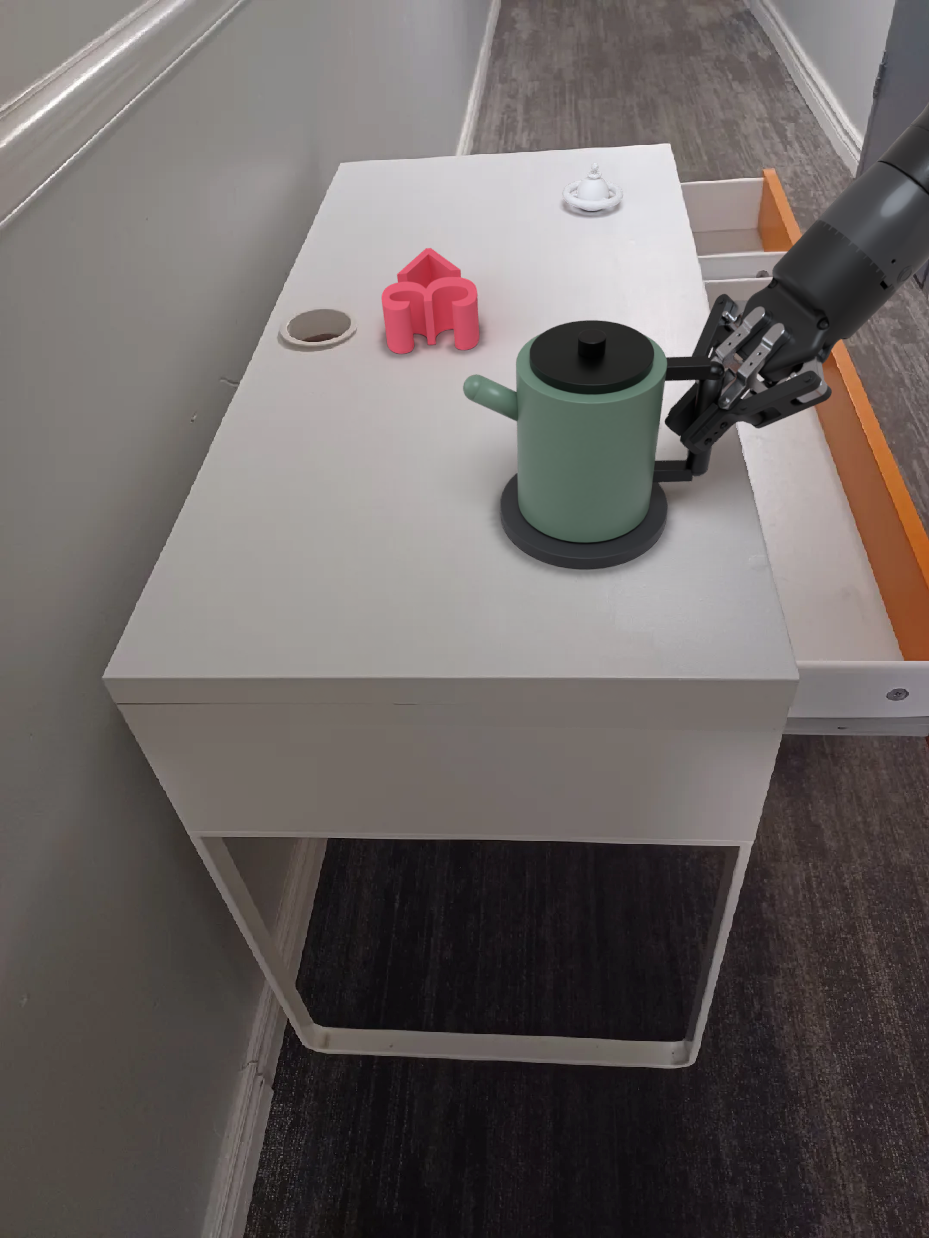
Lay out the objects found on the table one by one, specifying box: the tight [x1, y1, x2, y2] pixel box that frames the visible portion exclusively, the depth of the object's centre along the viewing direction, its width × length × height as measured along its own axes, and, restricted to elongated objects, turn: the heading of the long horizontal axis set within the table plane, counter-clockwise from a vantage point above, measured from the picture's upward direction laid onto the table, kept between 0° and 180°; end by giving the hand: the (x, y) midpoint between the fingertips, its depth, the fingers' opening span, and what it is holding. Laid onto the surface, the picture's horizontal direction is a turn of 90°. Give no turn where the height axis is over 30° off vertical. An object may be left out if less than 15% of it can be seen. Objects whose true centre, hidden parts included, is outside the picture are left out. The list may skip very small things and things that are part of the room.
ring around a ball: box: [561, 162, 624, 212], centre depth 115 cm, size 8×6×8 cm
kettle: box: [462, 319, 726, 543], centre depth 68 cm, size 19×11×15 cm, turn 88°
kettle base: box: [499, 471, 668, 570], centre depth 75 cm, size 14×14×1 cm
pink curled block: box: [381, 247, 480, 355], centre depth 97 cm, size 14×10×5 cm
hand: (680, 438), depth 68 cm, fingers closed on kettle, 2 cm apart
